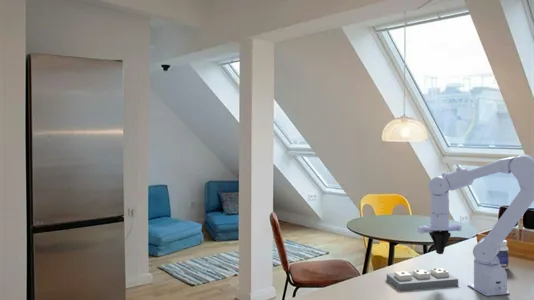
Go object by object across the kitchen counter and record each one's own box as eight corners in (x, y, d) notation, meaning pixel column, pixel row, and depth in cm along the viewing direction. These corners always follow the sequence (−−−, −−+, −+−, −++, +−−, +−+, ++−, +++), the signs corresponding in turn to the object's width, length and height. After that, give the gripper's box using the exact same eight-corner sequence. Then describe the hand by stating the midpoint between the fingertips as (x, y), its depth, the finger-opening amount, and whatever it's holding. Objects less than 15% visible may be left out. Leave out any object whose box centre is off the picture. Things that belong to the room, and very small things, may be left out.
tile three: (448, 277, 146) (448, 271, 146) (437, 278, 146) (437, 272, 146) (442, 273, 150) (442, 267, 150) (431, 274, 150) (431, 268, 150)
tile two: (430, 279, 145) (430, 272, 145) (418, 280, 145) (418, 273, 145) (424, 275, 149) (424, 268, 149) (413, 276, 149) (412, 269, 149)
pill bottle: (511, 269, 158) (511, 242, 157) (495, 270, 158) (495, 242, 157) (503, 264, 163) (503, 238, 163) (487, 265, 164) (487, 238, 163)
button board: (458, 285, 144) (458, 279, 144) (400, 290, 141) (400, 283, 141) (441, 275, 154) (441, 269, 154) (386, 279, 150) (386, 273, 150)
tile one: (411, 280, 144) (411, 274, 144) (400, 281, 144) (400, 275, 144) (405, 276, 148) (405, 270, 148) (394, 277, 148) (394, 271, 148)
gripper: (452, 209, 152) (452, 248, 153) (413, 211, 150) (413, 251, 151) (465, 213, 145) (465, 254, 146) (423, 215, 143) (424, 257, 144)
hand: (439, 253), depth 148 cm, fingers closed
